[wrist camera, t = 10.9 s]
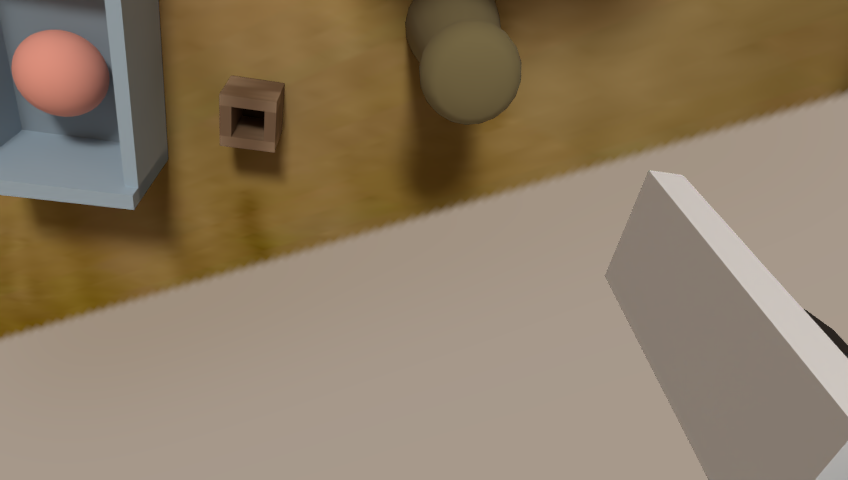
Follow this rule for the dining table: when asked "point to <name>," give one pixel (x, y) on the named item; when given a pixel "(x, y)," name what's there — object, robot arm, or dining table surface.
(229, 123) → the hollow square tube
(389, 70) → the dining table surface
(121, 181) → the long open box
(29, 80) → the ball
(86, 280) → the dining table surface
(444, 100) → the cork
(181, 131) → the dining table surface
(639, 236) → the robot arm
